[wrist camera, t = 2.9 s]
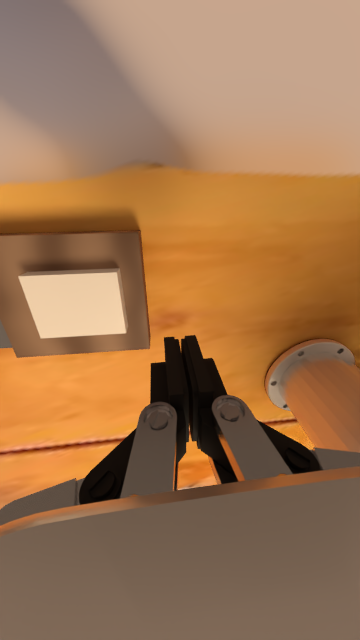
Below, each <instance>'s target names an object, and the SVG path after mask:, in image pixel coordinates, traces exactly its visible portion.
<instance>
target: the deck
mask: <svg viewBox="0 0 360 640" xmlns="http://www.w3.org/2000/svg"><path fill="white" fill-rule="evenodd" d="M115 268H120V274H121V281H122V288H123V295H124V302H125V309H126V316H127V322H128V328H127V332H126V333H123V334H106V335H90V336H74V337H57V338H40V335H39V332H38V330H37V327H36V324H35V321H34V319H33V316H32V313H31V310H30V308H29V305H28V302H27V299H26V297H25V294H24V291H23V288H22V286H21V283H20V280H19V277H18V276H20V275H22V274H24V273H27V272H37V271H63V270H89V269H115ZM0 320H1V322H2V325H3V327H4V329H5V331H6V334H7V336H8V338H9V340H10V343H11V345H12V347H13V349H14V352H15V354H16V356H17V358H19V357H34V356H49V355H64V354H79V353H94V352H109V351H124V350H139V349H150V327H149V317H148V306H147V295H146V285H145V274H144V263H143V252H142V242H141V231H140V230H132V231H93V232H54V233H15V234H0Z"/></svg>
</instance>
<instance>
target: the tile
mask: <svg viewBox="0 0 360 640" xmlns="http://www.w3.org/2000/svg"><path fill="white" fill-rule="evenodd" d="M18 277H19V280H20V283H21V286H22V288H23V291H24V294H25V297H26V299H27V302H28V305H29V308H30V310H31V313H32V316H33V319H34V321H35V324H36V327H37V330H38V332H39V335H40V338H57V337H74V336H90V335H106V334H123V333H126V332H127V328H128V322H127V316H126V309H125V302H124V295H123V288H122V281H121V274H120V268H115V269H89V270H63V271H37V272H27V273H24V274H22V275H20V276H18Z"/></svg>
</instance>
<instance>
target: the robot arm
mask: <svg viewBox="0 0 360 640" xmlns="http://www.w3.org/2000/svg"><path fill="white" fill-rule="evenodd" d="M164 345H165V362H160V363H151V400H150V404H149V405H148V406H146V407H145V408H144V409H143V411H142V412H141V414H140V417H139V421H138V425H137V428H136V429H135V430H134V431H133V432H132V433H131V434H130V435H128V436H127V437H126V438H125V439H124V440H123V441H122V442H121V443H120V444H119V445H118V446H117V447H116V448H115V449H114V450H113V451H111V452H110V453H109V454H108V455H107V456H106V457H105V458H104V459H103V460H102V461H101V462H100V463H99V464H98V465H97V466H96V467H94V468H93V469H92V470H91V471H90V473H89V474H88V475H87V476H86V477H85V478H83V479H80V480H78V481H77V480H76V478H75V479H72V480H69V481H66V482H64V483H61V484H58V485H56V486H53V487H50V488H47V489H45V490H42V491H39V492H36V493H34V494H31V495H28V496H26V497H23V498H20V499H17V500H15V501H13V502H11V503H9V504H7V505H5V506H4V507H3V508H2V509H1V510H0V640H360V369H359V368H358V367H357V366H355V358H354V355H353V354H352V352H351V351H350V350H349V349H348V348H347V347H346V346H344V345H343V344H341V343H339V342H337V341H334V340H331V339H314V340H310V341H306V342H303V343H301V344H298V345H296V346H294V347H292V348H290V349H289V350H287V351H286V352H285V353H283V354H282V355H281V356H280V357H279V358H278V359H277V360H276V361H275V362H274V363H273V365H272V366H271V368H270V369H269V371H268V373H267V376H266V380H265V389H266V393H267V395H268V396H269V398H270V400H271V401H272V402H273V404H275V405H276V406H277V407H279V408H281V409H284V410H288V411H291V412H292V413H293V415H294V416H295V418H296V419H297V421H298V422H299V424H300V425H301V427H302V428H303V430H304V431H305V433H306V434H307V436H308V437H309V439H310V440H311V441H312V443H313V444H314V446H315V447H316V448H313V450H309V449H307V448H306V447H305V446H303V445H302V444H300V443H298V442H296V441H294V440H293V439H291V438H289V437H287V436H285V435H283V434H282V433H280V432H278V431H276V430H274V429H273V428H271V427H269V426H267V425H265V424H263V423H262V422H260V421H258V420H256V418H255V417H254V415H253V414H252V412H251V411H250V409H249V408H248V406H247V405H246V404H245V403H244V402H243V401H242V400H241V399H239V398H237V397H235V396H231V395H227V392H226V390H225V387H224V385H223V382H222V380H221V377H220V375H219V373H218V370H217V368H216V365H215V363H214V360H213V359H212V358H208V359H203V356H202V353H201V350H200V347H199V344H198V341H197V338H196V336H195V335H192V336H185V339H181V350H180V345H179V340H178V339H174V337H164ZM189 426H190V432H191V438H192V441H197V447H198V449H201V451H203V452H204V453H205V454H207V455H208V458H209V462H210V465H211V468H212V470H213V473H214V476H215V478H216V481H217V484H218V485H212V486H205V487H198V488H191V489H183V490H178V469H179V463H178V462H179V461H180V460H181V458H182V457H183V456H184V454H185V453H186V442H189Z"/></svg>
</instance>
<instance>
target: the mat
mask: <svg viewBox="0 0 360 640" xmlns="http://www.w3.org/2000/svg"><path fill="white" fill-rule="evenodd" d="M0 348H13V347H12V345H11V343H10V340H9V338H8V336H7V334H6V331H5V329H4V327H3V325H2V322H1V320H0Z"/></svg>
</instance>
